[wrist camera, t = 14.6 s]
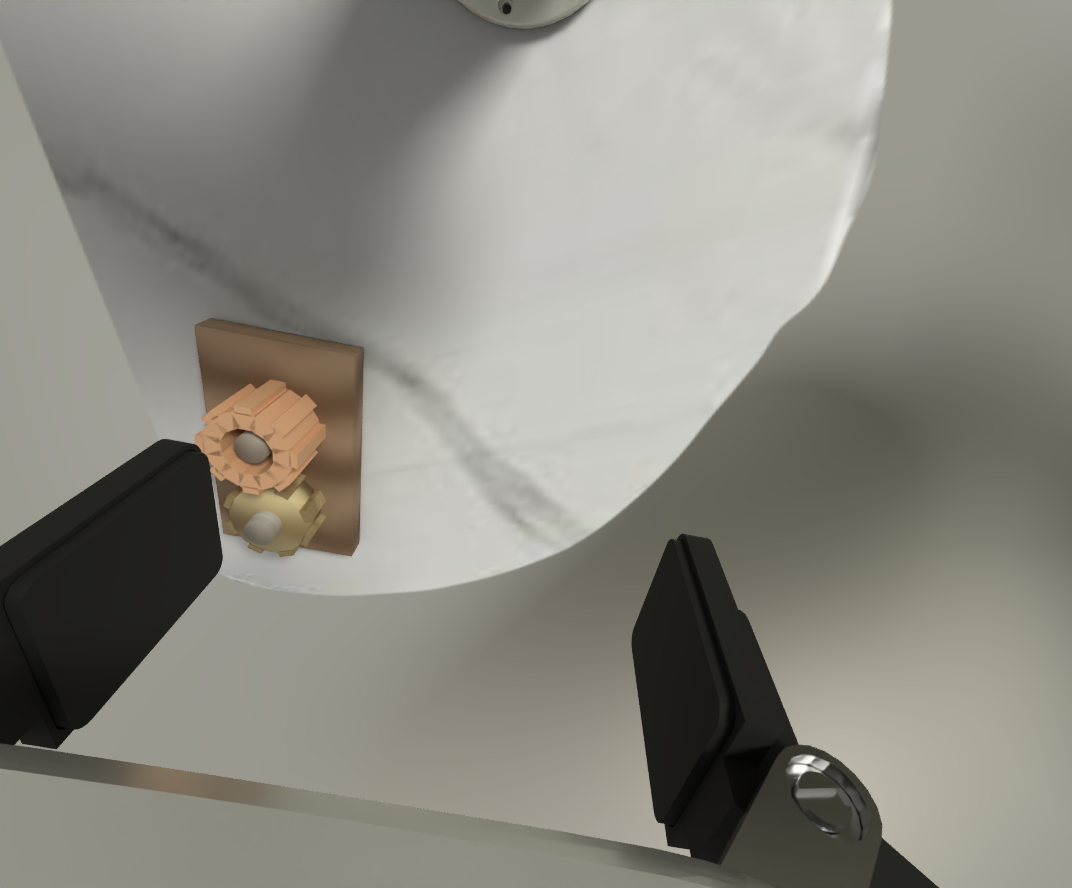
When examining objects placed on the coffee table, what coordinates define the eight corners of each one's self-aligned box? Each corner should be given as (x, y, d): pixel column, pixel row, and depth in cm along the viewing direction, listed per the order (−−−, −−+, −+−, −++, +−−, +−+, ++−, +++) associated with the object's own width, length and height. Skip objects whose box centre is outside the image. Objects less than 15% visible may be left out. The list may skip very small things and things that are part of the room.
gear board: (210, 318, 40) (151, 343, 34) (363, 347, 40) (330, 377, 35) (235, 520, 49) (192, 566, 44) (359, 542, 50) (332, 590, 44)
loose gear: (230, 371, 40) (188, 397, 35) (325, 390, 40) (295, 417, 36) (239, 452, 43) (201, 484, 39) (326, 468, 44) (299, 502, 39)
